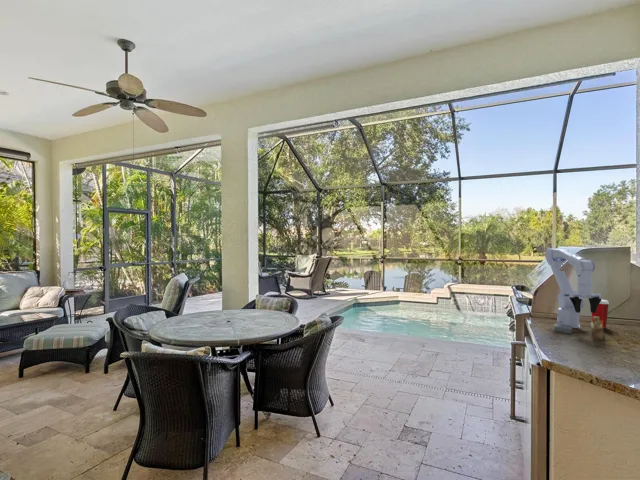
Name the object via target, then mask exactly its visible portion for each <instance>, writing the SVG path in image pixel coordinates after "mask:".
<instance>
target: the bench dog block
mask: <svg viewBox="0 0 640 480" xmlns="http://www.w3.org/2000/svg"><path fill="white" fill-rule="evenodd" d="M589 330H590V337H591V338H590V339H591V340H597V341H601V342H602V341H603V340H604V339H603V338H604V328H602V324H601V322H599V317H596V316H593V322H592V321H590V329H589Z"/></svg>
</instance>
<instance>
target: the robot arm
mask: <svg viewBox="0 0 640 480" xmlns="http://www.w3.org/2000/svg"><path fill="white" fill-rule="evenodd" d="M544 258H545V259H546V262H547V263H548V266H550V268H551V271H552V273H553V277H554V278H555V280H556V283H557V285H558V288H559V290H560V292H559V294H558V295H557V299H558V300H557V301H558V304H559V305H558V306H559V307H558V308H557V309H558V310H557V317H556V318H557V319H556V322H557V324H563V325H570V326H572V329H581V325H580V313H581V311H582V309H583V308H584V306H585V300H584V298H587V299H588V301H589V305H590V306H589V307H590V308H589V309H590V313H591V314H592V313H596V310H597V307H598V305H599V303H600V302H601V299H602V293H594V291H593V272H594V271H595V269H596V264H595V262H594V260H592V259H585V257H582V256H580V255H579V254H577V253H576V254H572V253H571V252H570V251H569V249H567V248H546V250H545V255H544ZM566 261H567V262H566ZM565 262H566V263H568V264H569V265H571V266H572V267H574V270H575V274H576V276H577V291H575V290H574V289H573V287H572V286H571V283H570V281H569V278H568V276H567V274H566V272H565V270H564V271H560V270H559V268H560V267H561V265H563V263H565Z"/></svg>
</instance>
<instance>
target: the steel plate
mask: <svg viewBox="0 0 640 480" xmlns="http://www.w3.org/2000/svg"><path fill="white" fill-rule="evenodd" d="M553 325H554V326H553V332H554V333H561V334H569V335H573V328H572V326H570V325H563V324H558V323H554V324H553Z"/></svg>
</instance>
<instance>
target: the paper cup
mask: <svg viewBox="0 0 640 480" xmlns="http://www.w3.org/2000/svg"><path fill="white" fill-rule="evenodd" d="M600 299H601V302H600V303H599V305H598V307H597V310H596V313H591V322H593V316H596V317H599V322H601V324H602V328H603V329H607V322H608V315H609V314H608V311H609V305H610V303H609V300H607V299H602V298H600Z"/></svg>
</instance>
